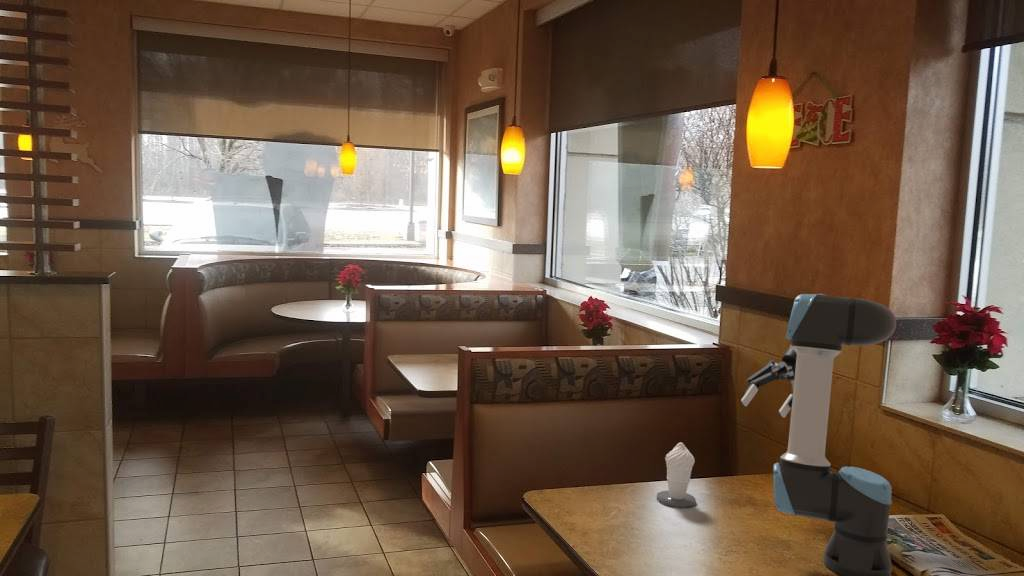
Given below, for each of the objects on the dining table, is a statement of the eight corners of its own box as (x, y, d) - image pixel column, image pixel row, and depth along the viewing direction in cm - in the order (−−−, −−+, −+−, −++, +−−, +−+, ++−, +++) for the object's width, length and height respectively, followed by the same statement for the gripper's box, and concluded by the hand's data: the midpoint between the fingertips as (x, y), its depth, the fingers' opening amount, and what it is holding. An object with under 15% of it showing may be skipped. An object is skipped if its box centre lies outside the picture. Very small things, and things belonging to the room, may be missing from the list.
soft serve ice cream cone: (691, 504, 228) (696, 448, 226) (661, 500, 229) (666, 445, 228) (691, 494, 236) (695, 440, 234) (662, 490, 238) (666, 437, 236)
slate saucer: (689, 511, 225) (689, 507, 225) (651, 502, 231) (651, 498, 230) (700, 499, 235) (700, 496, 235) (663, 491, 240) (664, 487, 240)
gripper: (841, 371, 232) (803, 427, 225) (770, 355, 253) (734, 406, 246) (832, 354, 229) (793, 410, 222) (761, 339, 250) (723, 391, 243)
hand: (762, 408), depth 234 cm, fingers open, 13 cm apart
